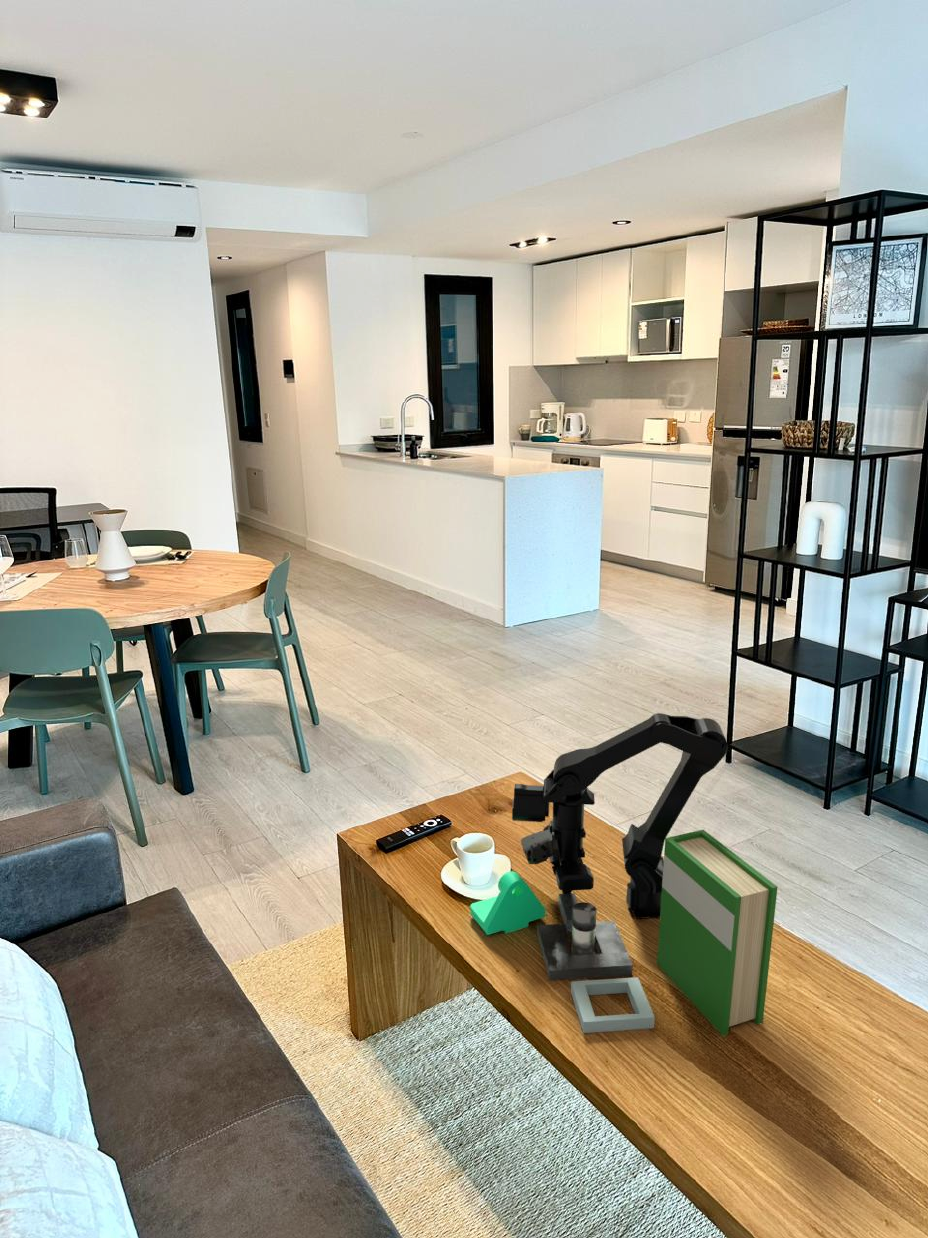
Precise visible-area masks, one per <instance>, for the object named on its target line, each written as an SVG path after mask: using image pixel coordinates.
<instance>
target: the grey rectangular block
mask: <svg viewBox="0 0 928 1238" xmlns="http://www.w3.org/2000/svg"><path fill="white" fill-rule="evenodd" d="M577 903H579V902H578V899H577V896H576V894H575V892H571V893H566V894H562V893H558V905H557V906H558V908H559V911H560V914H561V915H560V916H561V918H562V921H563V924H565V925H566V929H567V932H568V933H572V918H573V906H574V905H575V904H577Z"/></svg>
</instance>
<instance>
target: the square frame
mask: <svg viewBox="0 0 928 1238" xmlns="http://www.w3.org/2000/svg"><path fill="white" fill-rule="evenodd" d="M570 993H571V997H572V1000H573V1003H574V1007H575V1011H576V1014H577V1016H578V1017H577V1018H578V1021H579V1023H580V1027H581V1030H582V1033H583V1034H588V1033H589V1034H590V1033H605V1032H615V1031H616V1032H619V1031H633V1030H635V1031H636V1030H646V1029H655V1019H656V1018H655V1015H654V1012H653V1010H652V1008H651V1005H650V1002H649V1001H648V998H647V996H646V993H645V991H644V988H643V985H642V984H641V981H640V979H639V977H635V976H634V977H622V978H608V979H607V978H606V979H605V978H604V979H590V980H577V981H576V980H574V981H570ZM611 994H613V995H614V994H627V996H628V1000H629V1001H630V1004H631V1006H632V1010H633V1012H634V1013H627V1014H626V1013H625V1014H615V1015H614V1014H613V1015H611V1014H610V1015H598V1016H596V1015H595V1012H594V1009H593V1007H592V1006H593V1005H592V1003H591V1000H590V997H589V996H598V995H611Z"/></svg>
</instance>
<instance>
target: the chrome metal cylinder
mask: <svg viewBox="0 0 928 1238" xmlns="http://www.w3.org/2000/svg"><path fill="white" fill-rule="evenodd" d="M597 912H598V911H597V907H596V906H595V905H594V904H592V903H589V902H585V901H583V902H581V901H580V902H578V903H577V904H575V905H574V906H573V918H572V932H571V947H570V948H571V951H570V954H571V956H573V955H589V954H596V946H595V935H596V922H597Z"/></svg>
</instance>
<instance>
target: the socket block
mask: <svg viewBox="0 0 928 1238" xmlns="http://www.w3.org/2000/svg"><path fill="white" fill-rule="evenodd" d="M536 927H537V928H536V936H537V940H538V943H539V947H540V952H541V954H542V958H543V959H542V960H543V962H544V965H545V969H546V973H547V977H548V981H561V980H562V981H563V980H576V979H577V980H578V979H591V978H592V979H594V978H595V979H596V978H608V977H609V978H610V977H624V976H625V977H627V976H633V971H634V970H633V967H634V965H633V962H632V960H631V957H630V955H629V953H628V950H627V948H626V945H625V943H624V941H623V939H622V936H621V933H620V931H619V929H618V926H617V924H616V922H615V920H608V921H605V920H604V921H603V920H602V921H596V935H595V950H596V952H597V953H595V954H589V955H573V956H572V955H571V951H570V947H569V936H570V935H569V932H567V929H566V925H565V924H564V923H552V924H549V923H548V924H537V925H536Z"/></svg>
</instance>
